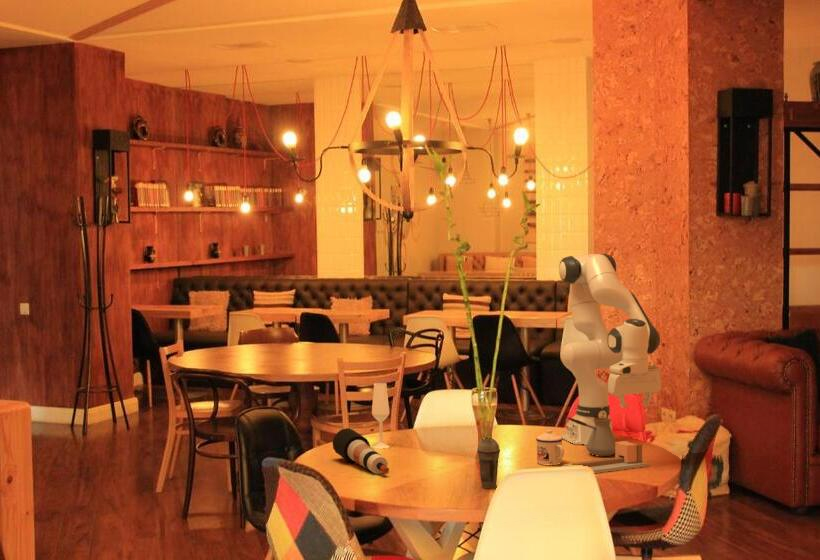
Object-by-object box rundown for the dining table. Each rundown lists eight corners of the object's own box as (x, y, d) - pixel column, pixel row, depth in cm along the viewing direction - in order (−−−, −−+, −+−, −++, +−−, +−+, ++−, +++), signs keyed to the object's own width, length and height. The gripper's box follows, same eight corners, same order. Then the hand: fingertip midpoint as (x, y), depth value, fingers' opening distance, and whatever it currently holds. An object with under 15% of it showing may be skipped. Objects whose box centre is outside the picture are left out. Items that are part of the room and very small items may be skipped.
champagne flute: (389, 448, 392) (388, 385, 391) (371, 448, 392) (370, 385, 391) (390, 445, 399) (389, 382, 398) (372, 445, 399) (371, 382, 398)
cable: (379, 491, 347) (367, 466, 343) (339, 461, 377) (328, 438, 373) (404, 474, 350) (392, 449, 347) (362, 445, 380) (351, 423, 377)
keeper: (615, 459, 362) (615, 442, 362) (624, 457, 364) (624, 441, 364) (627, 462, 356) (627, 445, 356) (636, 461, 358) (636, 444, 357)
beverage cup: (499, 483, 336) (498, 422, 335) (501, 489, 328) (501, 426, 327) (476, 484, 335) (475, 422, 334) (478, 489, 328) (478, 426, 327)
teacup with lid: (531, 462, 366) (530, 429, 365) (551, 459, 370) (551, 426, 370) (552, 468, 355) (552, 435, 355) (573, 465, 360) (573, 431, 360)
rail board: (563, 467, 356) (563, 447, 356) (625, 460, 367) (625, 439, 367) (583, 475, 346) (583, 453, 345) (647, 466, 356) (647, 445, 356)
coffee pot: (605, 450, 384) (605, 409, 384) (625, 455, 374) (625, 414, 373) (557, 456, 375) (556, 414, 374) (576, 462, 364) (575, 419, 364)
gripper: (654, 363, 369) (653, 402, 370) (605, 367, 360) (605, 407, 361) (665, 365, 363) (665, 405, 364) (616, 369, 355) (615, 410, 356)
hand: (634, 406), depth 362 cm, fingers open, 8 cm apart
